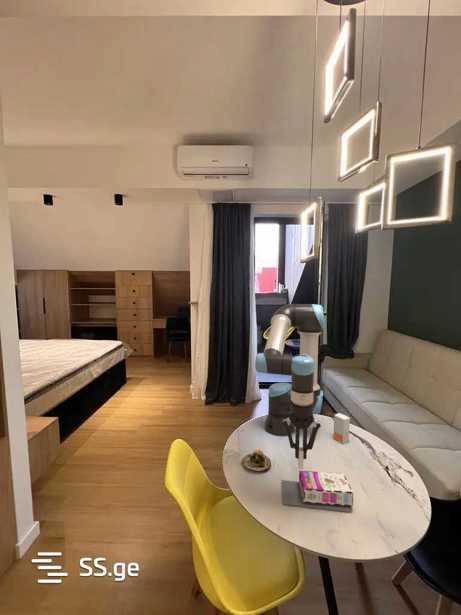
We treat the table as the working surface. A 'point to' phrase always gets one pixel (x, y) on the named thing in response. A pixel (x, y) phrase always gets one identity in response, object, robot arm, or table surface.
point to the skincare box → (341, 428)
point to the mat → (294, 498)
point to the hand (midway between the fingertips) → (300, 466)
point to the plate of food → (257, 461)
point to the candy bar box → (325, 488)
